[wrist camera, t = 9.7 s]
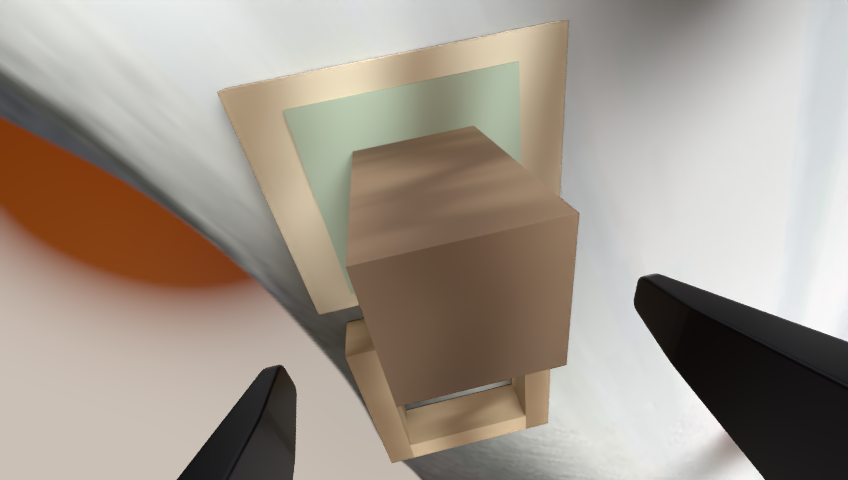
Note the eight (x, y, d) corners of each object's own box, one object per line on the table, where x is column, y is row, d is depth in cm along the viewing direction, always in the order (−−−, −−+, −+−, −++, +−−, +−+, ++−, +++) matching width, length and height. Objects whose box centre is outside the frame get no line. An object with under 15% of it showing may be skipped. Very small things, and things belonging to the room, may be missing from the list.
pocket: (533, 278, 20) (553, 307, 18) (532, 391, 26) (547, 423, 24) (346, 322, 20) (345, 357, 18) (389, 427, 26) (391, 463, 24)
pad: (555, 21, 14) (571, 20, 13) (548, 249, 20) (558, 260, 18) (226, 88, 13) (215, 93, 12) (320, 302, 19) (318, 317, 18)
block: (473, 125, 14) (578, 213, 7) (483, 229, 17) (566, 365, 10) (352, 151, 14) (345, 266, 7) (381, 252, 16) (396, 407, 10)
